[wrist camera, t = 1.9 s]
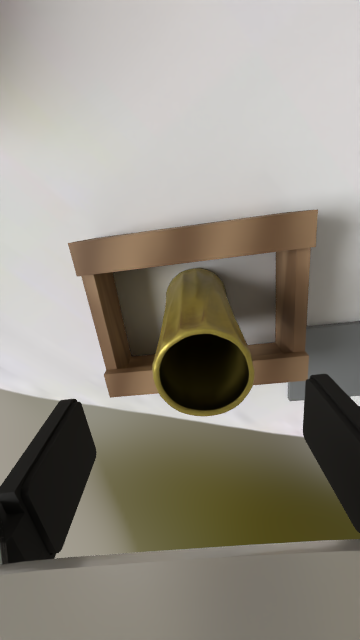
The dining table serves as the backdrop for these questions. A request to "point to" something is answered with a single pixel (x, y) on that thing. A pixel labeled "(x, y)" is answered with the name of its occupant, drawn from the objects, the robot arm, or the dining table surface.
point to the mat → (332, 357)
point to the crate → (191, 246)
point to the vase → (201, 348)
